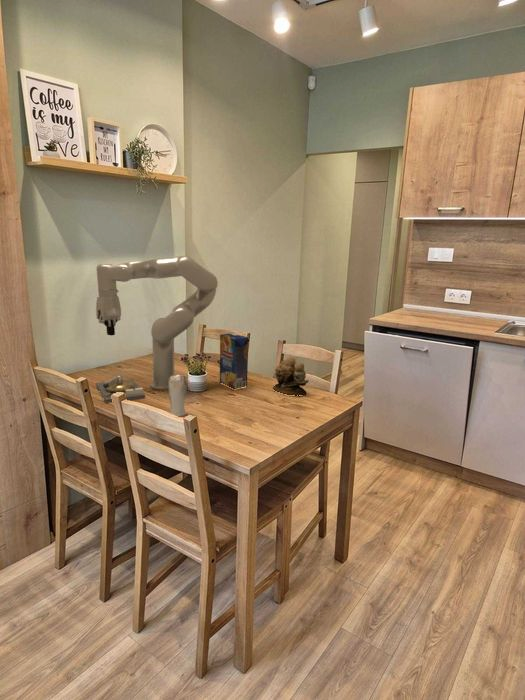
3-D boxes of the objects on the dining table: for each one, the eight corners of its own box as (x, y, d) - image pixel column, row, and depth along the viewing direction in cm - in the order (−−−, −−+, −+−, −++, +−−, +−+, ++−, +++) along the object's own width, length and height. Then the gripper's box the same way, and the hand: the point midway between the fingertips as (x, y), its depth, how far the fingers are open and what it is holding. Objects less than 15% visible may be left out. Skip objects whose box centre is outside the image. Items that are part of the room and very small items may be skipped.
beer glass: (188, 411, 176) (188, 375, 172) (184, 418, 169) (183, 380, 165) (171, 410, 176) (171, 374, 173) (166, 417, 169) (165, 379, 166)
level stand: (132, 382, 209) (131, 374, 208) (144, 398, 189) (144, 389, 188) (96, 386, 202) (95, 378, 201) (105, 403, 181) (105, 394, 180)
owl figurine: (313, 393, 203) (316, 357, 199) (299, 400, 194) (301, 362, 190) (281, 384, 213) (283, 350, 209) (266, 390, 204) (268, 354, 200)
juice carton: (247, 387, 207) (248, 337, 201) (234, 390, 202) (235, 339, 197) (232, 381, 216) (233, 332, 210) (219, 383, 211) (220, 334, 206)
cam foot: (114, 382, 202) (113, 370, 200) (138, 385, 199) (138, 373, 198) (92, 395, 185) (91, 382, 184) (118, 398, 183) (117, 384, 181)
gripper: (115, 291, 199) (118, 331, 204) (87, 294, 187) (91, 336, 191) (127, 292, 195) (130, 333, 200) (98, 295, 183) (102, 339, 187)
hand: (111, 334), depth 196 cm, fingers closed
